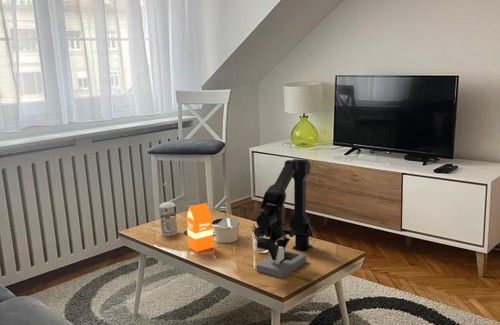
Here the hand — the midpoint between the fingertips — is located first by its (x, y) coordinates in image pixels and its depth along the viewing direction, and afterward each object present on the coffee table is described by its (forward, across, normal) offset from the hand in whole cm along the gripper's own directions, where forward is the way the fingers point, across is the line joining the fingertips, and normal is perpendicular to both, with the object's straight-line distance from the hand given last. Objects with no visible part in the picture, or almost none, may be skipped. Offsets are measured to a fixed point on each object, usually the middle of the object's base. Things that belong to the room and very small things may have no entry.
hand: (277, 258), depth 204 cm
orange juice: (+5, -2, -43) cm, 43 cm away
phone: (+5, -14, -55) cm, 57 cm away
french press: (+5, -9, -71) cm, 72 cm away
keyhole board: (+5, -3, 0) cm, 6 cm away
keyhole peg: (+4, 0, 0) cm, 4 cm away
